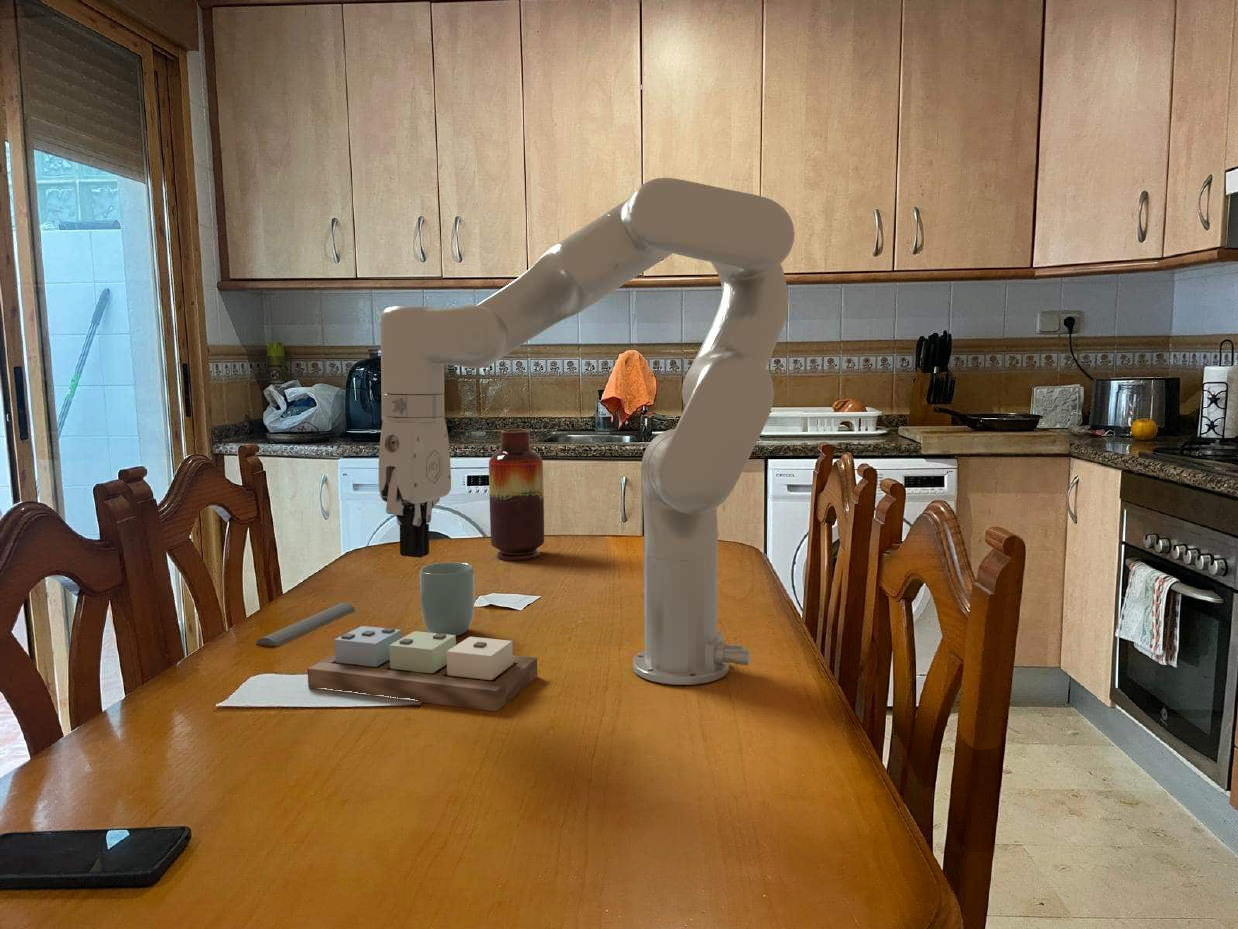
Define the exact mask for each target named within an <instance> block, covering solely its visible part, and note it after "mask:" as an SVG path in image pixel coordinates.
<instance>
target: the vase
mask: <svg viewBox="0 0 1238 929" xmlns="http://www.w3.org/2000/svg"><path fill="white" fill-rule="evenodd" d="M530 437H531V436H530V430H529V429H524V428H523V429H519V428H518V429H516V428H515V429H514V428H513V429H502V430H501V431H500V450H499V451H498V452H495V453H494V454H493V455H492V456H491V457H490V459H489V461H488V483H489V484H488V487H489V488H488V490H489V491H488V492H489V521H490V522H489V523H490V528H489V529H490V543H491V546H492V547H493V548H495V549H497V550H498V551H497V552H496V554H495V558H496V559H499V560H503V561H512V562H513V561H514V562H518V561H529V560H533V559H536V558H539V557H540V556H541V555H540V554H541V553H540V551H539V550H538V548H540V547H541V546H542V545H544V543H545V508H544V507H545V505H544V504H545V502H544V500H545V499H544V495H545V494H544V463H543V462H544V461H543V459H542V457H541V455H539V453H537V452H535V451H534V450H532V449H531V440H530Z"/></svg>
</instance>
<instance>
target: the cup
mask: <svg viewBox="0 0 1238 929" xmlns="http://www.w3.org/2000/svg"><path fill="white" fill-rule="evenodd" d="M419 588H420V589H419V591H420V592H419V594H420V607H421V609H420V610H421V615H422V621H423V625H424V627H425V628H426V630H427V632H428V633H438V634H448V635H456V637H458V636H460V635H463V634H465V633H466V632H467V631H468V630H469V628H470V626H472V622H473V618H474V613H475V612H474V610H475V574H474V567H473V565H472V564H470V563H466V562H457V561H456V562H453V561H452V562H451V561H450V562H448V561H447V562H446V561H445V562H436V563H431V564H428V565H425V566H423V567H421V568H420V570H419Z"/></svg>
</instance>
